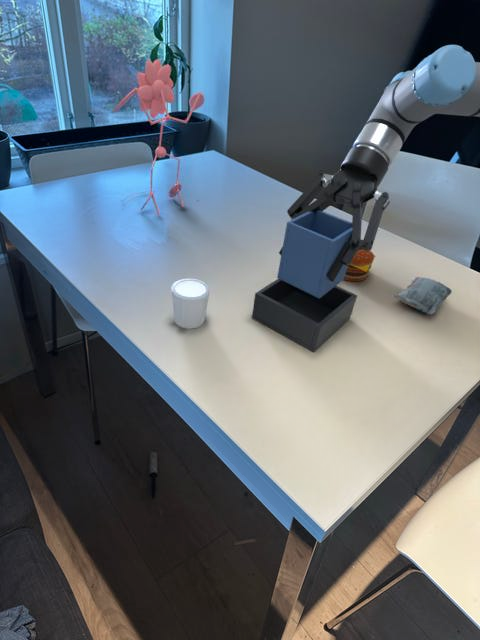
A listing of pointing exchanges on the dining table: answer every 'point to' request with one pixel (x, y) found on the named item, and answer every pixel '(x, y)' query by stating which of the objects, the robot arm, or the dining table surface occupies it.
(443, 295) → the packaged food
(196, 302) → the white cup
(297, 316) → the charcoal bin
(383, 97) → the robot arm
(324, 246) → the blue bin
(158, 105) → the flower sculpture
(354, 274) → the hamburger
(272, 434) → the dining table surface
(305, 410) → the dining table surface
